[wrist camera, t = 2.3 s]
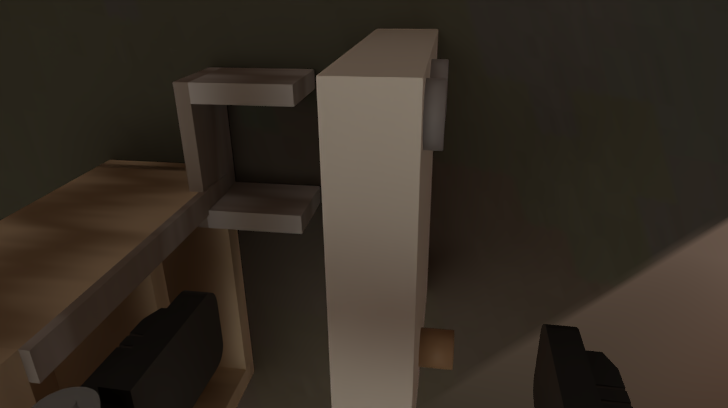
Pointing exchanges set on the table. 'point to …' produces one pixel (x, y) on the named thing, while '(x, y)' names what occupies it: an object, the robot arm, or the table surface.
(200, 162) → the cabinet
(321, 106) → the door
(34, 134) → the table surface
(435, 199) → the table surface
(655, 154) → the table surface
